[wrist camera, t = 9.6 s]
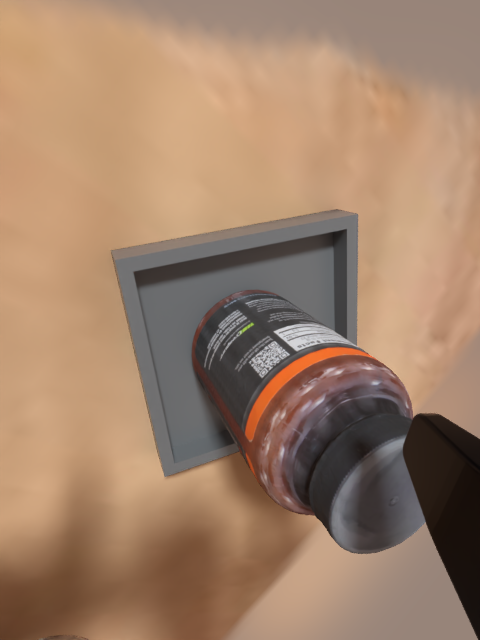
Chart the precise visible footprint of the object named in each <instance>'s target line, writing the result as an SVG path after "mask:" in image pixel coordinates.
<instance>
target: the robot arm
mask: <svg viewBox="0 0 480 640" xmlns="http://www.w3.org/2000/svg"><path fill="white" fill-rule="evenodd" d="M403 457H404V461H405V464H406V466H407V469H408V472H409V475H410V478H411V481H412V484H413V487H414V490H415V493H416V495H417V498H418V501H419V504H420V507H421V510H422V513H423V516H424V519H425V521H426V524H427V527H428V529H429V532H430V534H431V536H432V539H433V541H434V544H435V546H436V549H437V551H438V553H439V555H440V557H441V559H442V562H443V564H444V566H445V568H446V570H447V572H448V575H449V577H450V579H451V581H452V583H453V585H454V588H455V590H456V592H457V594H458V596H459V599H460V601H461V603H462V605H463V607H464V610H465V612H466V614H467V616H468V618H469V620H470V623H471V625H472V627H473V629H474V631H475V634H476V636H477V638H478V640H480V439H479V438H477V437H476V436H474V435H472V434H471V433H469V432H467V431H466V430H464V429H463V428H461V427H459V426H458V425H456V424H454V423H453V422H451V421H450V420H448V419H446V418H445V417H443V416H441V415H439V414H435V413H428V414H427V413H420V414H417V415H416V416H415V417H414V418H413V420H412V422H411V425H410V428H409V430H408V433H407V436H406V438H405V441H404V444H403Z"/></svg>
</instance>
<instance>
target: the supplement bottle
mask: <svg viewBox="0 0 480 640" xmlns="http://www.w3.org/2000/svg"><path fill="white" fill-rule="evenodd" d="M192 363H193V368H194V370H195V373H196V375H197V377H198V380H199V382H200V383H201V385H202V387H203V389H204V390H205V392H206V394H207V395H208V397H209V399H210V401H211V402H212V404H213V405H214V407H215V409H216V411H217V412H218V414H219V416H220V418H221V420H222V421H223V423H224V425H225V426H226V428H227V430H228V431H229V433H230V435H231V437H232V438H233V440H234V442H235V443H236V445H237V447H238V449H239V450H240V452H241V454H242V456H243V457H244V459H245V461H246V463H247V464H248V466H249V468H250V469H251V470H252V472H253V474H254V476H255V477H256V479H257V481H258V482H259V484H260V486H261V487H262V488H263V489H264V490H265V492H266V493H267V494H268V495H269V496H270V497H271V498H272V499H273V500H274V501H275V502H276V503H278V504H279V505H281V506H282V507H284V508H285V509H287V510H289V511H292V512H295V513H298V514H305V515H315V516H316V517H317V518H318V519H319V520H320V521H321V522H322V523H323V525H324V526H325V528H326V529H327V531H328V532H329V534H330V536H331V537H332V538H333V539H334V540H335V542H336V543H337V544H338V545H339V546H340V547H342V548H343V549H345V550H347V551H350V552H352V553H358V554H368V553H377V552H380V551H383V550H385V549H388V548H391V547H393V546H396V545H398V544H400V543H402V542H403V541H404V540H406V539H407V538H408V537H410V536H411V535H412V534H414V533H415V532H416V531H417V530H418V529H419V528H420V527H421V526H422V525H423V524H424V523H425V522H426V521H425V519H424V516H423V513H422V510H421V507H420V504H419V501H418V498H417V495H416V493H415V490H414V487H413V484H412V481H411V478H410V475H409V472H408V469H407V466H406V464H405V461H404V457H403V444H404V441H405V438H406V436H407V433H408V430H409V428H410V425H411V422H412V420H413V411H412V404H411V401H410V398H409V394H408V392H407V390H406V388H405V386H404V384H403V383H402V382H401V381H400V379H399V378H398V377H397V375H396V374H394V373H393V371H392V370H390V369H389V368H388V367H387V366H385V365H384V364H383V363H381V362H380V361H378V360H377V359H375V358H374V357H372V356H370V355H369V354H368V353H367V352H365V351H364V350H362V349H361V348H359V347H358V346H356V345H354V344H353V343H351V342H350V341H348V340H347V339H345V338H344V337H342V336H341V335H339V334H338V333H336V332H335V331H333V330H332V329H330V328H329V327H327V326H325V325H324V324H323V323H321V322H319V321H318V320H317V319H315V318H313V317H312V316H311V315H309V314H307V313H306V312H304V311H303V310H301V309H300V308H298V307H297V306H295V305H294V304H292V303H291V302H289V301H288V300H287V299H285V298H283V297H281V296H279V295H277V294H275V293H272V292H269V291H264V290H245V291H240V292H236V293H234V294H231V295H230V296H228V297H226V298H224V299H222V300H221V301H219V302H218V303H216V304H215V305H214V306H213V307H212V308H211V309H210V310H209V311H208V312H207V313H206V314H205V316H204V317H203V318H202V320H201V322H200V323H199V325H198V327H197V329H196V332H195V335H194V338H193V343H192Z"/></svg>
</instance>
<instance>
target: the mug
mask: <svg viewBox="0 0 480 640" xmlns="http://www.w3.org/2000/svg"><path fill="white" fill-rule="evenodd" d="M39 640H88V639H86V638H83V637H78V636H72V635H60V636H51V637H47V638H42V639H39Z"/></svg>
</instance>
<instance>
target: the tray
mask: <svg viewBox="0 0 480 640" xmlns="http://www.w3.org/2000/svg"><path fill="white" fill-rule="evenodd" d="M111 254H112V258H113V262H114V267H115V271H116V275H117V280H118V284H119V288H120V293H121V297H122V301H123V305H124V310H125V314H126V318H127V323H128V327H129V331H130V336H131V340H132V344H133V349H134V353H135V357H136V361H137V366H138V370H139V374H140V379H141V383H142V387H143V392H144V396H145V400H146V404H147V409H148V413H149V417H150V422H151V426H152V430H153V435H154V439H155V443H156V447H157V452H158V456H159V459H160V463H161V466H162V469H163V473H164V476H165V477H166V476H169V475H172V474H175V473H178V472H181V471H184V470H186V469H189V468H192V467H195V466H198V465H201V464H204V463H207V462H210V461H213V460H216V459H218V458H221V457H224V456H227V455H230V454H233V453H236V452H239V451H240V450H239V449H238V447H237V445H236V443H235V442H234V440H233V438H232V437H231V435H230V433H229V431H228V430H227V428H226V426H225V425H224V423H223V421H222V420H221V418H220V416H219V414H218V412H217V411H216V409H215V407H214V405H213V404H212V402H211V401H210V399H209V397H208V395H207V394H206V392H205V390H204V389H203V387H202V385H201V383H200V382H199V380H198V377H197V375H196V373H195V370H194V368H193V363H192V343H193V338H194V335H195V332H196V329H197V327H198V325H199V323H200V322H201V320H202V318H203V317H204V316H205V314H206V313H207V312H208V311H209V310H210V309H211V308H212V307H213V306H214V305H215V304H216V303H218V302H219V301H221V300H222V299H224V298H226V297H228V296H230V295H231V294H234V293H236V292H240V291H245V290H264V291H269V292H272V293H275V294H277V295H279V296H281V297H283V298H285V299H287V300H288V301H289V302H291V303H292V304H294V305H295V306H297V307H298V308H300V309H301V310H303V311H304V312H306V313H307V314H309V315H311V316H312V317H313V318H315V319H317V320H318V321H319V322H321V323H323V324H324V325H325V326H327V327H329V328H330V329H332V330H333V331H335V332H336V333H338V334H339V335H341V336H342V337H344V338H345V339H347V340H348V341H350V342H351V343H353V344H354V345H356V346H357V273H358V214H356V213H351V212H347V211H342V210H338V209H336V210H330V211H325V212H320V213H314V214H309V215H303V216H298V217H292V218H287V219H281V220H276V221H270V222H265V223H259V224H254V225H248V226H243V227H237V228H232V229H227V230H221V231H216V232H210V233H205V234H199V235H194V236H188V237H183V238H177V239H172V240H166V241H161V242H155V243H150V244H144V245H139V246H134V247H128V248H123V249H117V250H112V251H111Z"/></svg>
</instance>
